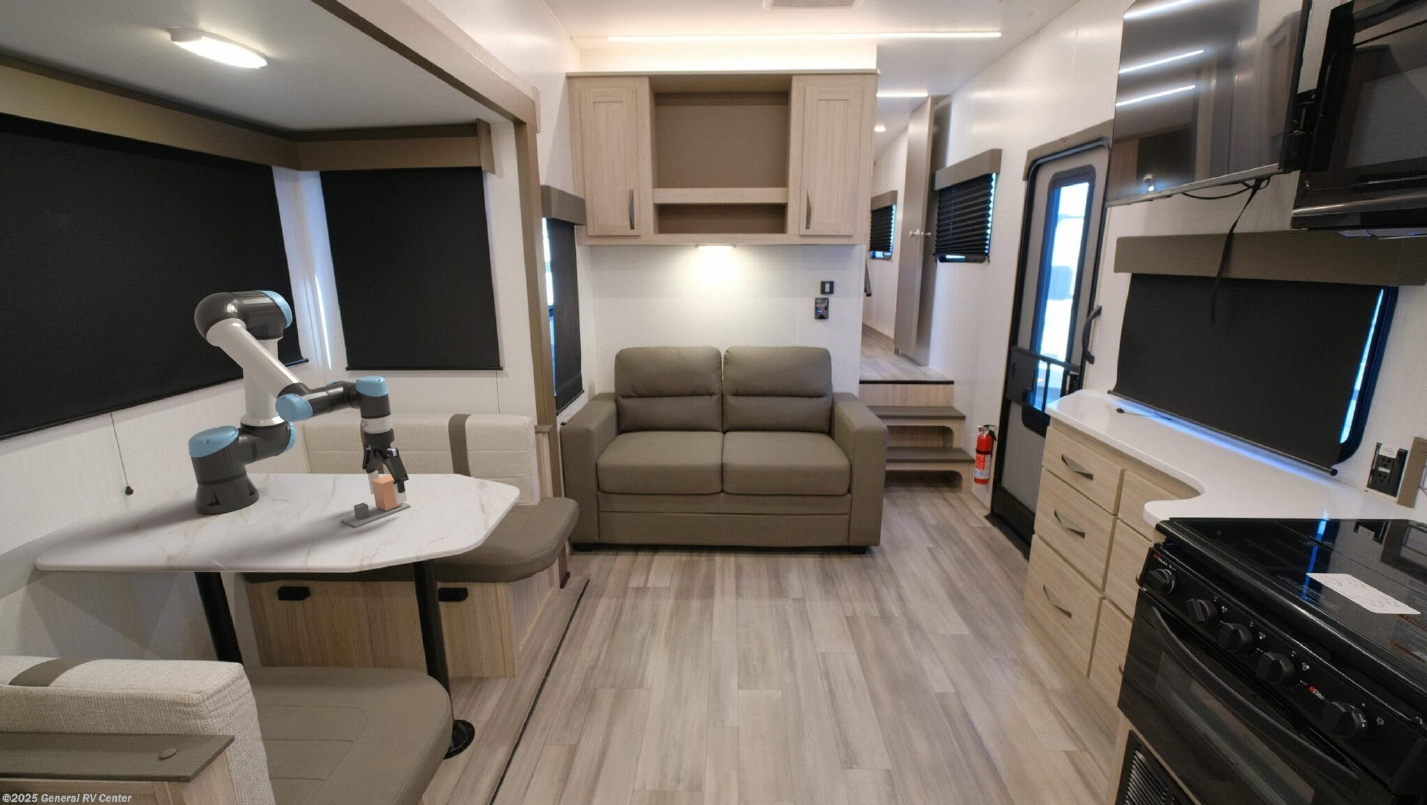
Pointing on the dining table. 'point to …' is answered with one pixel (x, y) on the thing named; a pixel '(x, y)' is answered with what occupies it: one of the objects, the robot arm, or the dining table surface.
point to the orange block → (384, 493)
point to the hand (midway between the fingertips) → (388, 497)
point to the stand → (370, 514)
